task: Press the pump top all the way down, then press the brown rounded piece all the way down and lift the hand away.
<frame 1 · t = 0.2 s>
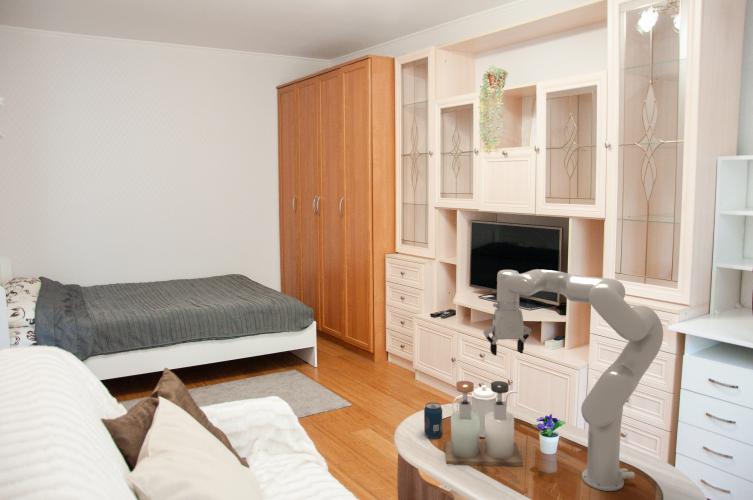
hand: (507, 353, 195), 37 cm above the table, tool pointing down, fingers open, 9 cm apart
brown rounded piece: (465, 394, 196), point 23 cm above the table, slide at 4.0 cm
pale green bottle: (465, 454, 199), resting on walnut tray
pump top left: (499, 394, 195), point 23 cm above the table, slide at 4.0 cm
coffeepot: (485, 432, 216), on the table
frosted white jar: (499, 455, 198), resting on walnut tray
walnut tray: (482, 455, 199), on the table
soda can: (433, 435, 215), on the table
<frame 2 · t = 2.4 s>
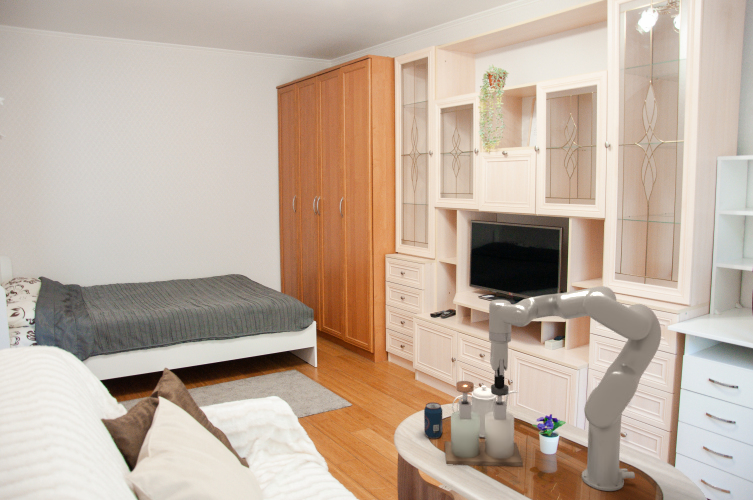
hand: (499, 386, 195), 26 cm above the table, tool pointing down, fingers closed
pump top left: (499, 397, 195), point 22 cm above the table, slide at 3.1 cm, touching gripper
everything else where it was.
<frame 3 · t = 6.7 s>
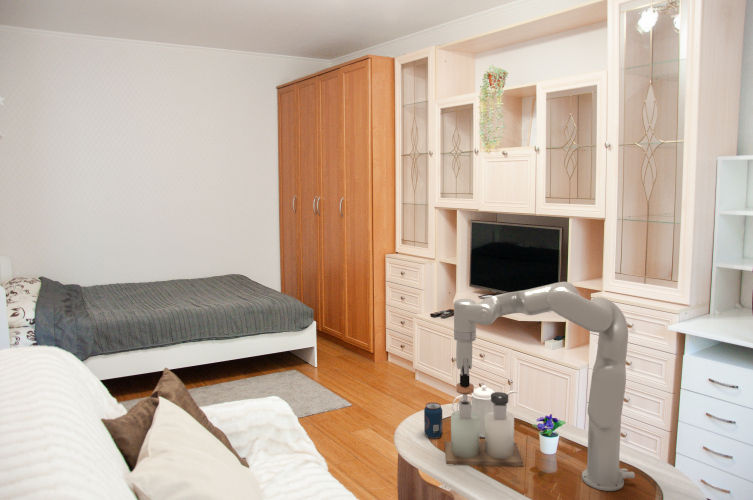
hand: (464, 385, 196), 26 cm above the table, tool pointing down, fingers closed
brown rounded piece: (465, 396, 196), point 22 cm above the table, slide at 3.4 cm, touching gripper
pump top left: (499, 405, 196), point 19 cm above the table, slide at -0.1 cm
everything else where it was.
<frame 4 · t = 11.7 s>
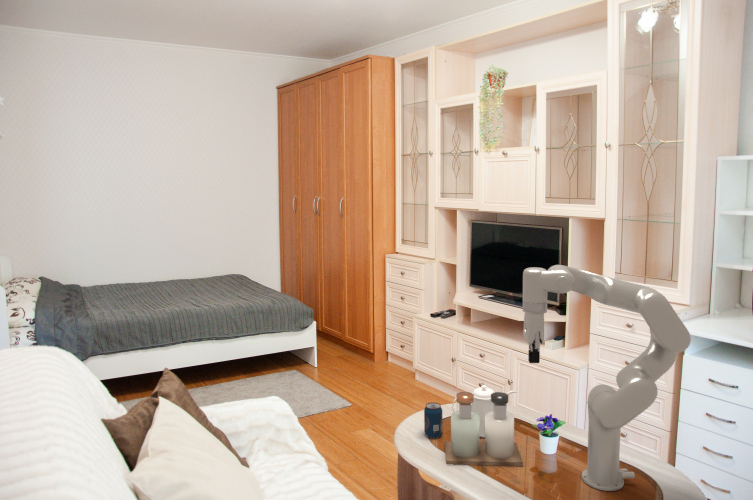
hand: (533, 362, 179), 39 cm above the table, tool pointing down, fingers closed
brown rounded piece: (465, 405, 197), point 19 cm above the table, slide at -0.1 cm
everything else where it was.
at the end: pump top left slide at -0.1 cm; brown rounded piece slide at -0.1 cm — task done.
